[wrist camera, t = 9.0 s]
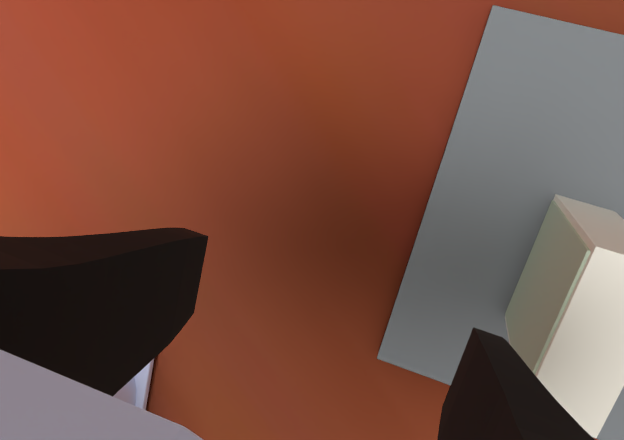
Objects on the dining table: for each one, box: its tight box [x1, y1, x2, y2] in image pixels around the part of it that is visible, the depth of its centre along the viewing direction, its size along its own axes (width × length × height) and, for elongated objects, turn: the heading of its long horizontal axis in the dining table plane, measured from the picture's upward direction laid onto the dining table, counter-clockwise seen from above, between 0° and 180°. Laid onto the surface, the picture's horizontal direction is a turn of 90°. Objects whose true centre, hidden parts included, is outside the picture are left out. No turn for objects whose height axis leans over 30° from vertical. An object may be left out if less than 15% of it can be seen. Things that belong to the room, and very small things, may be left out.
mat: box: [377, 5, 624, 440], centre depth 19 cm, size 14×14×1 cm
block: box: [505, 194, 624, 438], centre depth 16 cm, size 5×2×6 cm, turn 165°
